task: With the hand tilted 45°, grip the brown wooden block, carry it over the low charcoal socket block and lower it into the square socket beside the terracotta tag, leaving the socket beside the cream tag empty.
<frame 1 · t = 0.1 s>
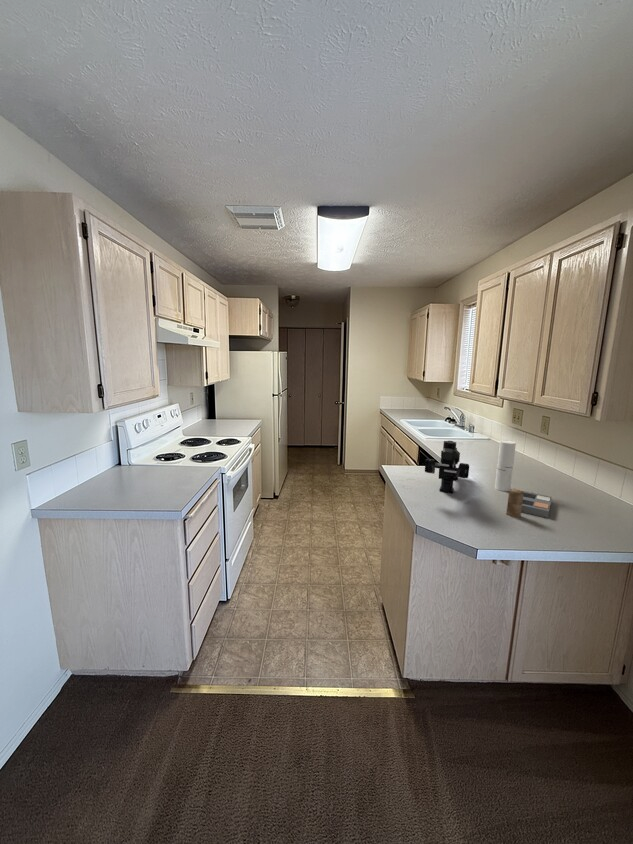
hand: (445, 473, 151), 17 cm above the countertop, tool horizontal, fingers open, 9 cm apart
cylindrical container: (502, 489, 180), on the countertop
brown wooden block: (513, 515, 149), on the countertop
socket block: (526, 504, 160), on the countertop
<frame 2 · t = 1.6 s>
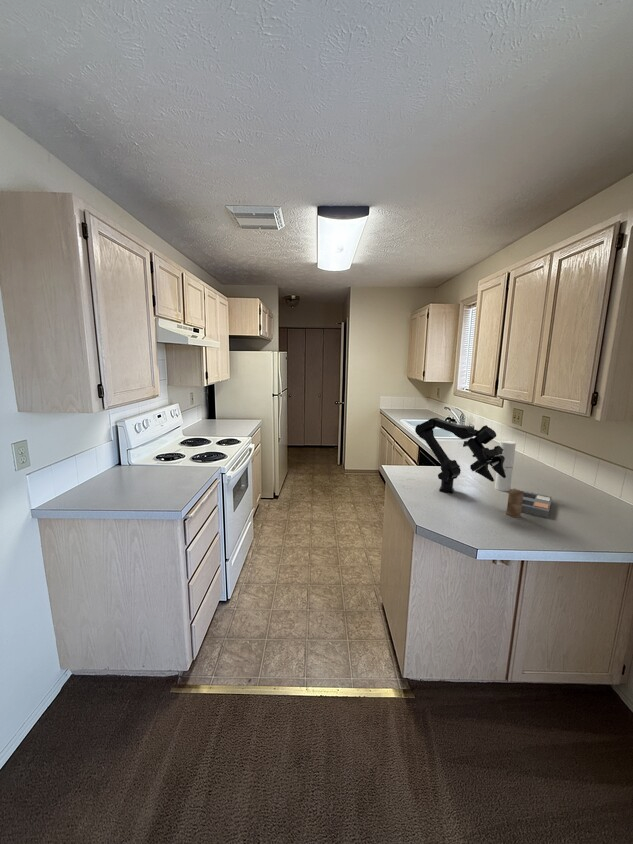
hand: (499, 479, 153), 14 cm above the countertop, tool tilted 45°, fingers open, 9 cm apart
nothing on the countertop moved.
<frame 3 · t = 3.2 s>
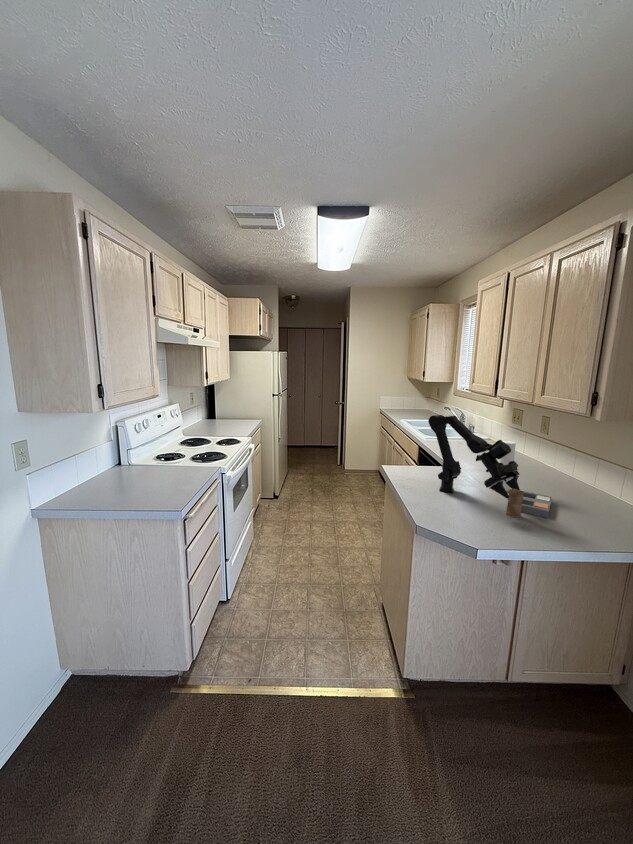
hand: (514, 496, 148), 8 cm above the countertop, tool tilted 45°, fingers open, 9 cm apart
nothing on the countertop moved.
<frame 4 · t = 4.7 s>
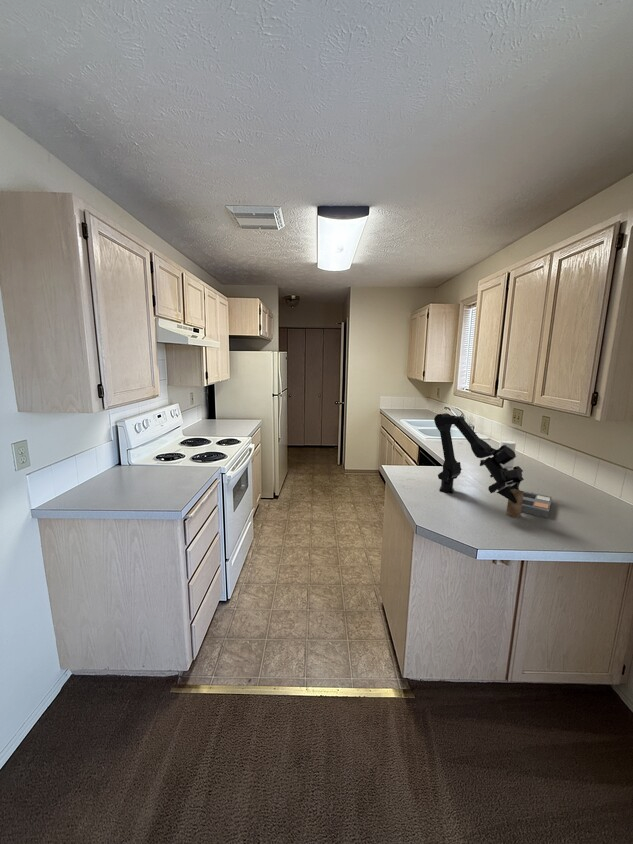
hand: (518, 501, 147), 7 cm above the countertop, tool tilted 45°, fingers closed on brown wooden block, 4 cm apart
brown wooden block: (513, 515, 149), on the countertop, touching gripper
everything else where it was.
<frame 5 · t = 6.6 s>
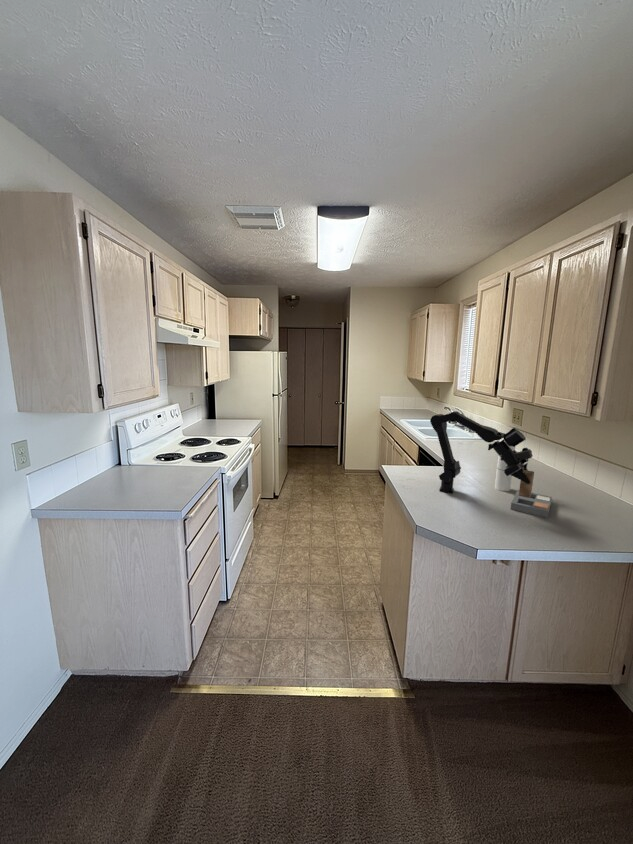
hand: (530, 482, 151), 14 cm above the countertop, tool tilted 45°, fingers closed on brown wooden block, 4 cm apart
brown wooden block: (524, 495, 153), point 7 cm above the countertop, touching gripper
everything else where it was.
when the fingers open (8 cm above the countertop, at t = 8.5 s): brown wooden block drops 1 cm, resting in socket block.
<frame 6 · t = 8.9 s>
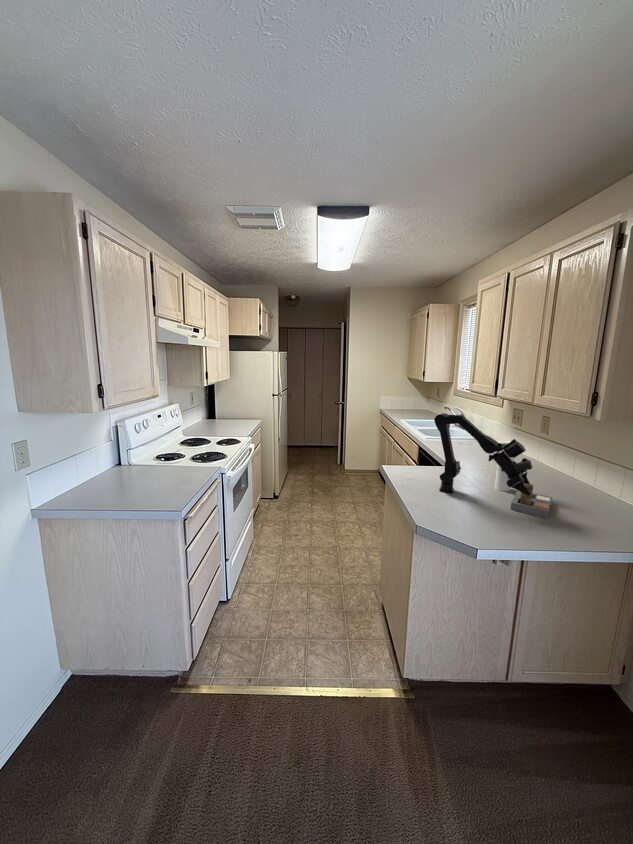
hand: (530, 492, 154), 8 cm above the countertop, tool tilted 45°, fingers open, 8 cm apart
brown wooden block: (524, 508, 156), resting in socket block
everything else where it was.
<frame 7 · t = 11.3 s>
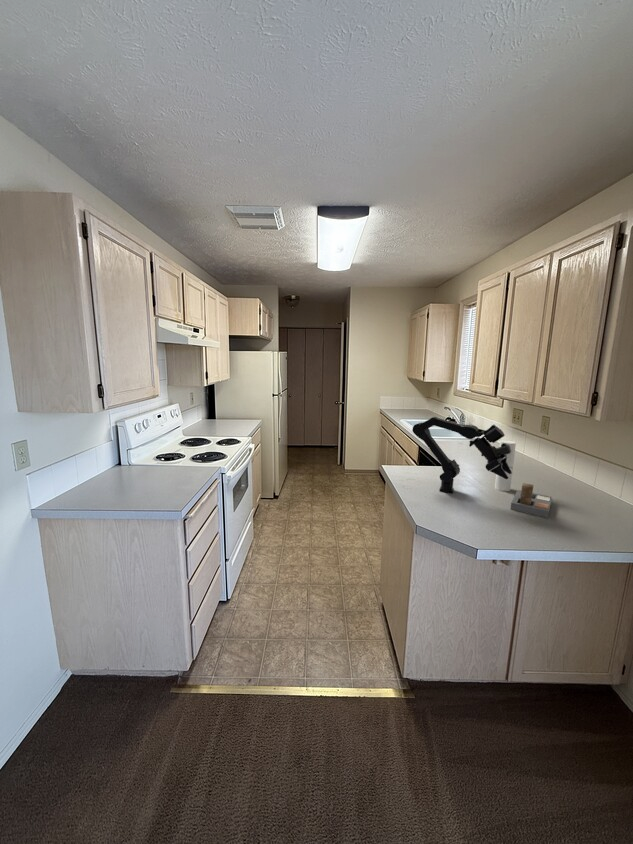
hand: (509, 476, 158), 14 cm above the countertop, tool tilted 45°, fingers open, 9 cm apart
nothing on the countertop moved.
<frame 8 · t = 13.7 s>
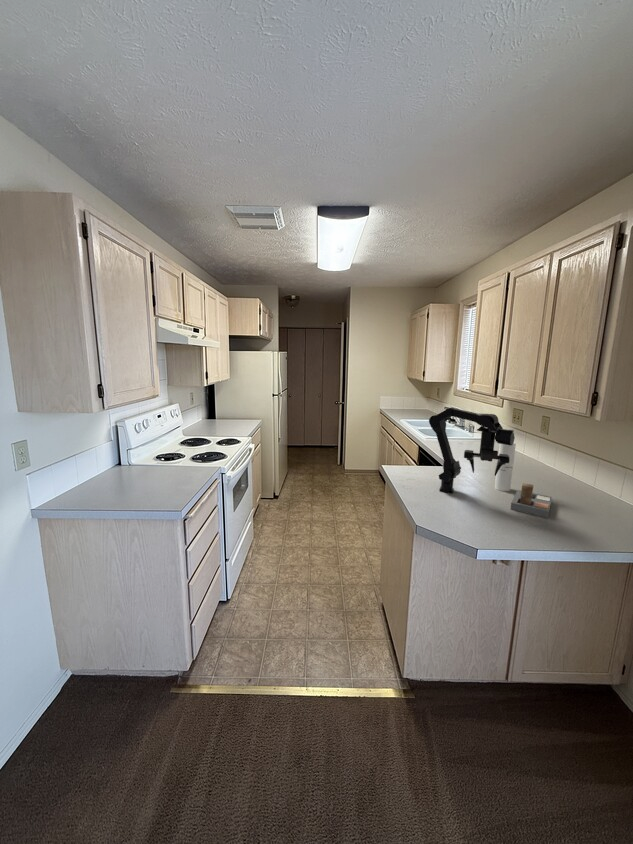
hand: (484, 474, 162), 13 cm above the countertop, tool pointing down, fingers open, 9 cm apart
nothing on the countertop moved.
at the end: brown wooden block 0.1 cm from the target spot, resting in socket block; brown wooden block tilted 0°; the gripper is holding nothing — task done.
